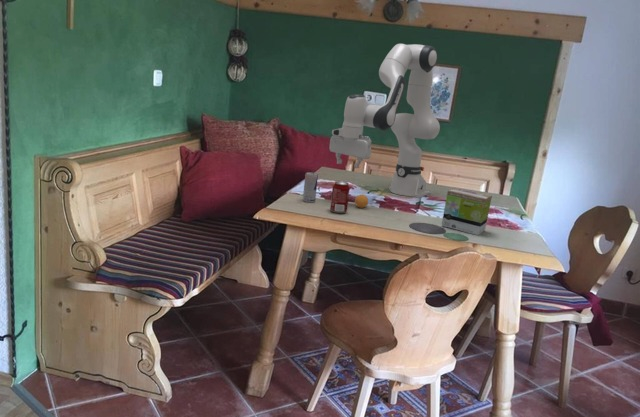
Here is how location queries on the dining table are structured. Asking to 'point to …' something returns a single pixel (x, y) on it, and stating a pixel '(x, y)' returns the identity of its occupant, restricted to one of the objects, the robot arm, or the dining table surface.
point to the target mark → (427, 228)
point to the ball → (361, 201)
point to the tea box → (466, 211)
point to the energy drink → (310, 187)
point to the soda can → (339, 197)
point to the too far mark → (456, 236)
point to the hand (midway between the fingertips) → (347, 165)
